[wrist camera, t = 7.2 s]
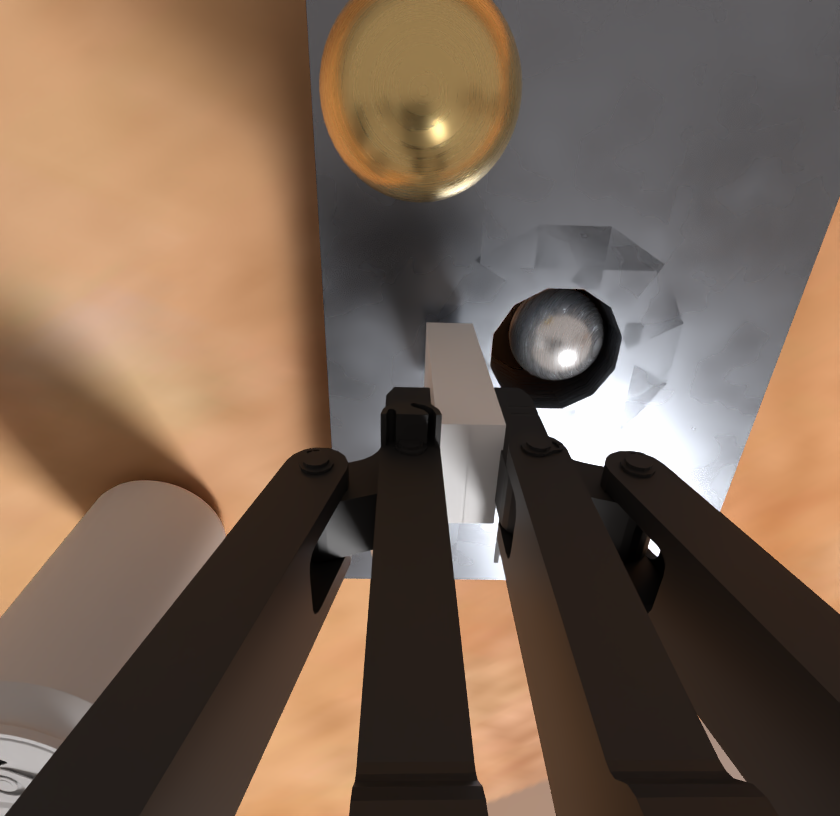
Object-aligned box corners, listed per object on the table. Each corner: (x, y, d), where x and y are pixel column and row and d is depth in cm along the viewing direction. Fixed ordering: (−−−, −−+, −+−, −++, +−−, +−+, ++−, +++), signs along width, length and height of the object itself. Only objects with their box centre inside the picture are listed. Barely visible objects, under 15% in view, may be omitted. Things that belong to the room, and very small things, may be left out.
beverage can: (119, 449, 24) (-104, 701, 14) (251, 504, 26) (143, 768, 15) (83, 541, 27) (-128, 813, 16) (206, 586, 28) (86, 860, 18)
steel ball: (609, 377, 21) (533, 351, 23) (630, 291, 19) (546, 271, 21) (565, 406, 19) (486, 374, 21) (584, 310, 17) (496, 286, 19)
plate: (347, 525, 27) (339, 578, 24) (322, -32, 16) (301, -69, 13) (661, 529, 27) (693, 581, 24) (833, -11, 17) (929, -41, 14)
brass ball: (337, 189, 16) (310, 212, 12) (328, -12, 14) (292, -73, 9) (495, 194, 16) (526, 219, 12) (514, -4, 14) (560, -60, 10)
